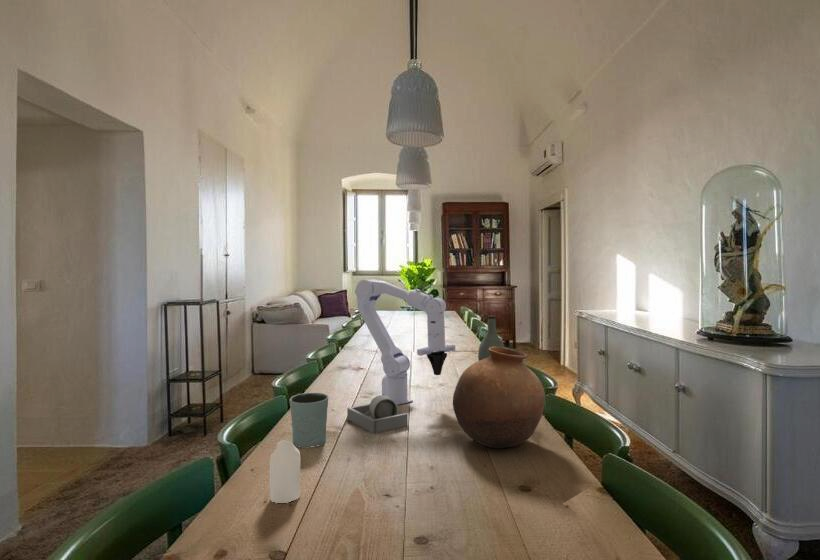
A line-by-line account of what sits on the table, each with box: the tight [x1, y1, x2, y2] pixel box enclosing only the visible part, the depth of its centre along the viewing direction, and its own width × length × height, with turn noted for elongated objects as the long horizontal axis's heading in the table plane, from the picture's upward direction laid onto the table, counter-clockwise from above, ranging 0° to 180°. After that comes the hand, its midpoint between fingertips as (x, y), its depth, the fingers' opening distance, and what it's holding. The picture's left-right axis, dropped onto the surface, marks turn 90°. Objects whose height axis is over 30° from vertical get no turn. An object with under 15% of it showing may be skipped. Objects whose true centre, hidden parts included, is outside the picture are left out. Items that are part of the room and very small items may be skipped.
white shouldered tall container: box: [269, 439, 302, 504], centre depth 97 cm, size 6×12×6 cm
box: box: [346, 403, 409, 434], centre depth 144 cm, size 16×12×4 cm
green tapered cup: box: [289, 392, 329, 448], centre depth 128 cm, size 10×10×12 cm
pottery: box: [452, 347, 546, 449], centre depth 125 cm, size 23×23×25 cm
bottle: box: [477, 314, 506, 361], centre depth 160 cm, size 9×9×30 cm
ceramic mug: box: [364, 394, 399, 420], centre depth 145 cm, size 11×8×8 cm
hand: (437, 374), depth 161 cm, fingers closed
